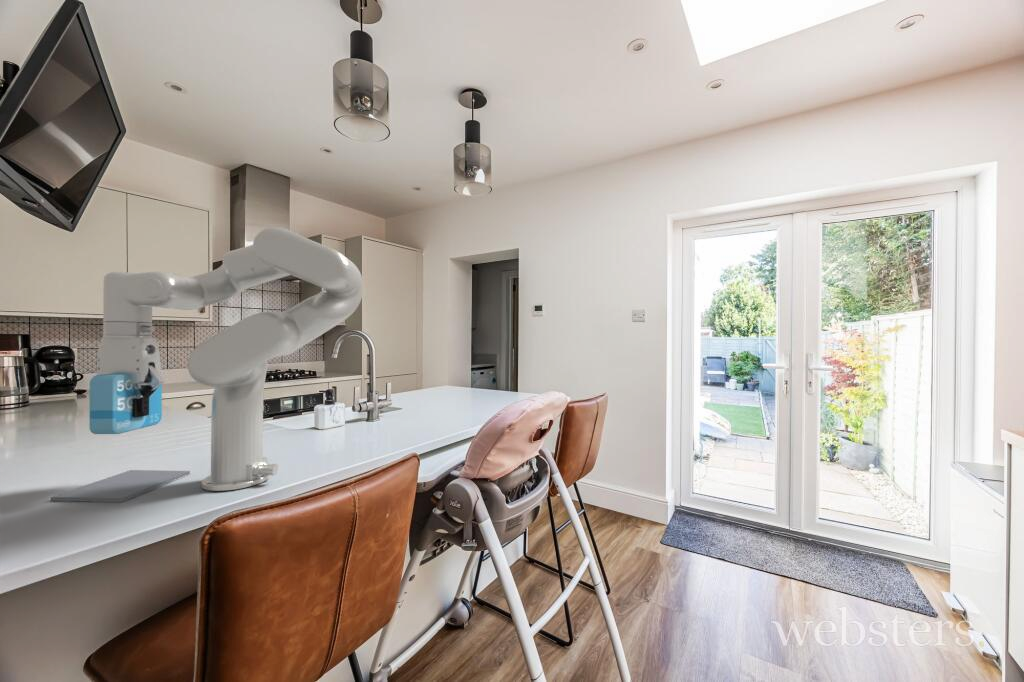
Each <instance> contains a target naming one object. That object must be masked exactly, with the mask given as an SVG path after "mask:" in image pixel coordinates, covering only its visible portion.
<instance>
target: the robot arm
mask: <svg viewBox="0 0 1024 682" xmlns="http://www.w3.org/2000/svg"><path fill="white" fill-rule="evenodd" d="M289 276H293V277H294V278H298V279H300V280H302V281H304V282H307V283H310V284H313V286H317V287H319V288H322V290H321V291H320V292H319V293H317V294H315V295H313V296H310V297H307V298H306V299H304V300H302V301H300V302H299V303H298V304H296V305H294V306H292V307H290V308H288V309H286V310H284V311H281V312H271V311H263V312H257V313H254V314H252V315H251V314H250V315H249V316H246V317H244V318H243V319H241V320H239V321H237V322H236V323H235V322H234V324H232V325H230V326H228V327H227V328H225V329H223V330H221V331H220V332H218V333H216V334H215V335H212V336H211V337H209V338H207V339H205V340H204V341H202V342H201V343H199V344H198V345H197V346H196V347H195V348H194V349H193V350H192V351H191V353H190V355H189V357H188V360H187V371H188V373H189V375H190V377H191V378H192V379H193V380H194V381H195V382H197V383H199V384H200V385H203V386H208V387H212V388H213V387H214V389H213V394H212V396H211V397H212V399H211V414H210V415H211V416H210V417H211V419H210V420H211V421H210V422H211V423H210V426H211V428H210V475H208V476H206V477H204V479H202V480H201V488H203V489H204V490H205V491H210V492H211V491H212V492H224V491H226V492H227V491H234V490H240V489H244V488H250V487H253V486H256V485H258V484H261V483H265V481H268V480H269V478H270V477H271V476H275V475H277V474H278V471H279V464H278V463H271V464H270V463H269V462H268V457H264V456H263V455H264V454H263V453H264V452H263V451H264V448H263V447H264V446H263V445H264V442H263V437H264V435H263V434H264V432H263V431H264V423H263V422H264V394H265V393H264V391H265V384H266V377H267V372H268V361H270V360H271V359H274V358H278V357H285V356H289V355H291V354H294V353H295V352H297V351H298V350H299V349H302V348H303V347H304V346H306V345H307V344H309V343H310V342H312V341H314V340H315V339H317V338H319V337H321V336H322V335H323V334H325V333H327V332H329V331H330V330H332V329H333V328H335V327H336V326H338V325H339V324H341V323H343V322H344V321H345V320H347V319H348V318H349V317H350V316H352V314H354V312H355V311H356V310H357V308H358V307H359V305H360V304H361V302H362V299H363V295H364V281H363V277H362V273H361V272H360V270H359V268H358V267H357V265H356V264H355V263H354V262H353V261H351V260H350V259H349V258H348V257H346V256H345V255H344V254H343V253H341V252H339V250H338V251H337V249H336V250H335V249H333V248H332V247H329V246H327V245H324V244H322V243H320V242H317V241H314V240H312V239H309V238H307V237H305V236H302V235H301V234H299V233H296V232H294V231H292V230H289V229H287V228H285V227H280V226H270V227H267V228H263V229H262V230H260V231H259V232H258V233H257V234H256V235H255V237H254V238H253V243H252V244H250V245H248V246H244V247H240V248H237V249H233V250H230V251H227V252H225V253H224V254H223V256H222V264H221V265H220V266H219V267H218V268H216V269H213V270H211V271H207V272H205V273H202V274H198V275H194V276H191V277H186V276H182V275H179V274H174V273H170V272H165V271H147V272H146V271H145V272H138V273H136V272H126V271H125V272H123V271H113V272H108V273H106V274H105V275H104V277H103V296H102V297H103V301H102V302H103V312H102V313H103V315H102V316H103V317H102V319H103V320H102V323H103V327H102V328H103V331H102V332H103V333H102V334H103V336H102V337H101V338H100V339H101V340H100V342H99V348H98V353H97V363H96V375H102V374H129V376H130V383H131V384H133V389H134V393H135V397H136V398H135V399H133V404H132V416H133V417H134V418H137V417H142V416H147V415H149V397H151V396H152V395H153V393H154V392H155V391H156V390H157V388H158V387H160V386H161V385H162V386H163V385H164V383H165V380H164V379H163V378H162V377H163V376H162V364H161V354H160V348H159V345H158V341H157V338H156V337H153V333H154V332H155V331H156V327H155V326H154V325H153V307H155V308H163V309H172V310H180V311H192V310H197V309H202V308H206V307H209V306H213V305H215V304H216V305H217V304H219V303H221V302H225V301H227V300H229V299H231V298H233V297H235V296H237V295H240V294H241V293H242V292H243V291H245V290H247V289H250V288H253V287H256V286H259V285H262V284H265V283H268V282H271V281H272V282H273V281H276V280H279V279H282V278H285V277H289ZM161 376H162V377H161ZM141 386H143V390H142V389H141Z"/></svg>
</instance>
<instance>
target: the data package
mask: <svg viewBox="0 0 1024 682" xmlns="http://www.w3.org/2000/svg"><path fill="white" fill-rule="evenodd" d="M161 377H163V376H162V375H161ZM141 389H142V390H143V386H141ZM162 394H163V384H162V385H161V386H160V387H158V388H157V390H156V391H155V392H154V393H153V395H152V396H151V397H149V415H147V416H142V417H137V418H134V417H133V416H132V404H133V399H135V398H136V397H135V393H134V389H133V384H131V383H130V376H129V374H102V375H97V374H96V375H94V376H92V378H91V379H90V381H89V430H90V432H91V434H93V435H120V434H124V433H128V432H132V431H136V430H139V429H144V428H147V427H151V426H155V425H157V424H159V423H160V422H161V420H162V416H163V412H162V409H163V407H162V403H163V402H162V399H163V397H162V396H163V395H162Z"/></svg>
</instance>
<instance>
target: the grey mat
mask: <svg viewBox="0 0 1024 682" xmlns="http://www.w3.org/2000/svg"><path fill="white" fill-rule="evenodd" d="M188 474H190V475H191V471H190V470H153V469H151V470H150V469H149V470H148V469H147V470H146V469H145V470H144V469H143V470H142V469H139V470H137V469H129V470H127V471H123V472H120V473H119V474H115V475H112V476H109V477H106V478H104V479H100V480H97V481H94V482H91V483H88V484H85V485H81V486H80V487H79V486H78V487H76V488H73V489H70V490H68V491H67V490H66V491H64V492H62V493H61V492H60V493H58V494H55V495H53V496H51V497H50V502H74V501H90V503H92V502H93V503H124V502H126V501H129V500H130V499H129V498H131V499H133V498H132V497H134V498H136V497H138V496H141V495H143V494H146V493H149V492H150V491H153V490H155V488H156V489H158V488H161V487H163V486H164V485H165V486H166V485H167V483H168V484H170V483H172V482H171V481H173V480H175V479H177V480H179V479H178V478H180V477H182V478H184V477H183V476H185V475H187V476H189V475H188ZM185 477H186V476H185ZM180 479H181V478H180ZM175 481H176V480H175ZM169 482H170V483H169ZM173 482H174V481H173ZM162 485H163V486H162ZM145 492H146V493H145ZM142 493H143V494H142ZM140 494H141V495H140ZM135 496H136V497H135ZM128 499H129V500H128ZM125 500H126V501H125ZM91 501H92V502H91ZM123 501H124V502H123Z"/></svg>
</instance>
